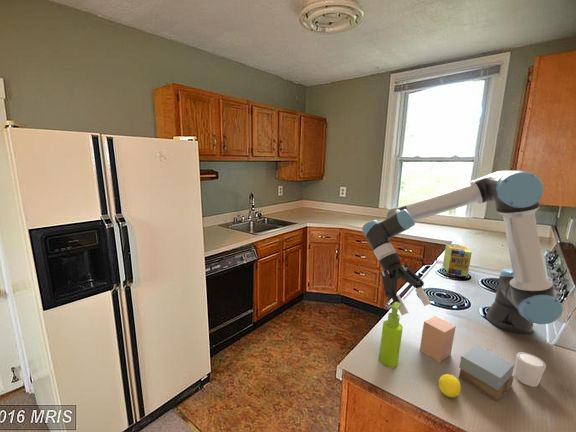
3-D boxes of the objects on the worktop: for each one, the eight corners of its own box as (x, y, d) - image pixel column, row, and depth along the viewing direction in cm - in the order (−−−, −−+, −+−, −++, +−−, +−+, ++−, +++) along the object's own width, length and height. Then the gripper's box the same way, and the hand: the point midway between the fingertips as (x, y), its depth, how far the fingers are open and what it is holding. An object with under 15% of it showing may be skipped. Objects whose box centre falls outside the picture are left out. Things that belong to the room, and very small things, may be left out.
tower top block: (474, 355, 89) (476, 344, 88) (511, 375, 81) (514, 364, 80) (459, 367, 84) (461, 356, 83) (497, 390, 76) (500, 378, 75)
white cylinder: (527, 371, 88) (531, 351, 87) (547, 388, 82) (553, 368, 80) (506, 370, 88) (510, 351, 87) (525, 388, 81) (530, 367, 80)
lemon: (457, 407, 75) (460, 392, 73) (435, 396, 78) (437, 381, 76) (461, 388, 80) (463, 374, 78) (440, 379, 83) (442, 364, 82)
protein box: (447, 274, 164) (451, 249, 161) (442, 265, 178) (446, 242, 175) (467, 277, 161) (472, 252, 158) (460, 268, 175) (464, 244, 172)
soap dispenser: (401, 359, 91) (409, 304, 87) (393, 370, 86) (401, 312, 82) (384, 350, 95) (391, 297, 91) (375, 361, 90) (382, 305, 86)
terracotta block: (431, 343, 100) (435, 315, 98) (450, 354, 95) (455, 326, 92) (419, 349, 97) (424, 321, 94) (439, 362, 91) (444, 332, 89)
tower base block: (474, 366, 90) (476, 355, 89) (511, 388, 82) (513, 376, 81) (458, 378, 85) (460, 367, 84) (496, 402, 77) (499, 390, 76)
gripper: (400, 256, 118) (428, 304, 109) (359, 266, 105) (387, 321, 96) (413, 248, 113) (444, 297, 104) (371, 257, 100) (402, 315, 90)
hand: (417, 309), depth 100 cm, fingers open, 13 cm apart
